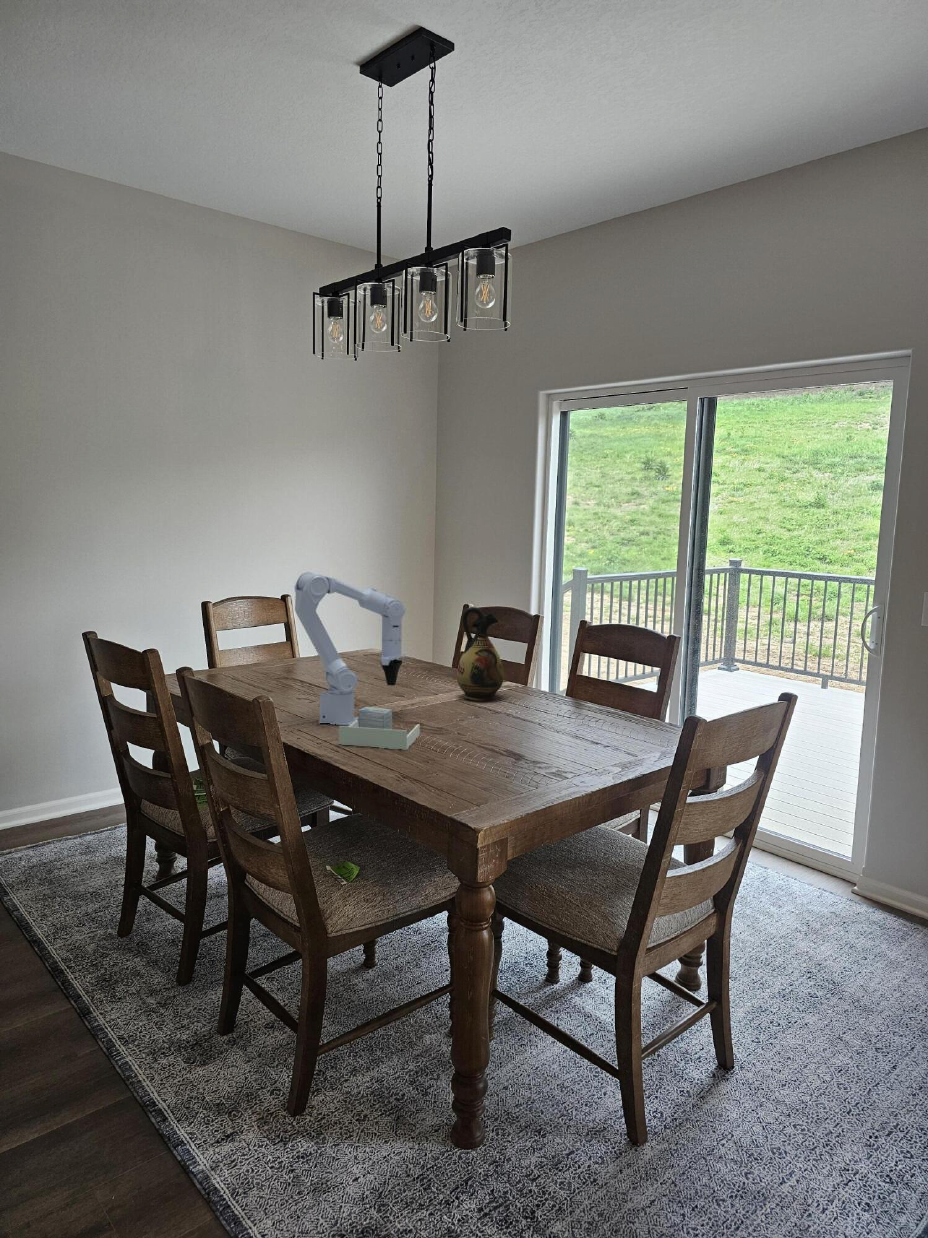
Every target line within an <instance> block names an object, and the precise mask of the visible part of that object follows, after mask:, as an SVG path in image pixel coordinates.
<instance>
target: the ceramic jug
mask: <svg viewBox="0 0 928 1238" xmlns="http://www.w3.org/2000/svg"><path fill="white" fill-rule="evenodd" d="M473 614H476V615H477V616H478V617H477V618H476V619H474V621H473V622H472V623H471V626H472V628H476V633H475V634H474V635H473V636H472V632H471V630H470V627H469V626H470V625H469V623H468V616H469V615H473ZM461 619H462V626H463V629H464V633H465V636H466V639H467V640H466V643H465V646H464V651H463V653H462V655H461V657H460V660H459V662H458V666H457V670H456V681H457V684H458V686H459V687H460V689H461V691H462V692H463V693H464V698H465V699H468V700H470V701H476V702H484V703H485V702H490V701H494V700H495V696H496V694H497V692H498V691H499V690H500V689H501V688H502V686H503V683H504V679H505V672H504V670H505V669H504V666H503V663H502V659H501V657H500V654H499V653H498V650H497V649H496V648H495V646H494V645H493V643H492V641H491V640H490V637H489V635H488V629H489V628H490V627H492V626H495V625H497V624H500V623H501V621H500V619H498V618H497V617H496V615H495V614H494V613H493V612H488V613H486V615H484V613H483V611H482V609H480V608H478V607H477V606H476V607H475V606H470V607H468V608H466V609H464V610H463V614H462V617H461Z"/></svg>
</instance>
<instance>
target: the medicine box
mask: <svg viewBox="0 0 928 1238" xmlns="http://www.w3.org/2000/svg"><path fill="white" fill-rule="evenodd" d="M358 718H359V719H358V727H364V728H379V729H393V709H391V708H382V707H375V706H365V707H361V709H359V710H358Z"/></svg>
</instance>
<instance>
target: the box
mask: <svg viewBox="0 0 928 1238" xmlns="http://www.w3.org/2000/svg"><path fill="white" fill-rule="evenodd" d="M420 725H421V724H420V723H418V724H416V725H415V726H414V727H413V728H412V729H411V730H410V732H409V733H408V730H406V729H405V730H404V729H393V728H392V729H379V728H364V727H359V719H358V720H356V721H354V722H353V723H352V724H351V725H338V745H339V744H343V745H357V746H371V747H379V748H378V749H384V748H388V749H387V750H398V749H402V750H401V751H407V750H408V749H409V748H410V747H411V745H413V743H414V742H415V741H416V740H417V739H418V737H419V736H420V735H421V734H420V733H421V731H420V730H421V729H420V728H421V726H420ZM416 738H417V739H416ZM409 746H410V747H409Z"/></svg>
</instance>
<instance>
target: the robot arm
mask: <svg viewBox="0 0 928 1238" xmlns="http://www.w3.org/2000/svg"><path fill="white" fill-rule="evenodd" d="M294 593H295V596H294V597H295V599H294V601H295V603H294V604H295V605H294V611H295V614H296V615H297V617H298V619H299V621H300V623H301V625H302V627H303V628H304V630H305V632H306V634H307V636H308V638H309V640H310V642H311V643H312V645H313V647H314V649H315V651H316V653H317V654H318V656H319V658H320V660H321V662H322V664H323V670H324V673H325V681H326V684H328V686H329V687H328V690H323V691H321V693H320V696H319V721H318V724H320V723H330V724H329V725H335V724H336V725H337V726H349V725H351V724H352V723H353V722H354V721H356V720H358V721H359V716H355V689H356V688H357V686H358V677H357V675H356V673H355V672H353V671H351V670H350V668H349V667H348V665H347V664H346V662H345V661H344V660H343V659H342V658H341V657H340V654H339V652H338V650H337V648H336V647H335V645H334V643H333V641H332V639H331V637H330V635H329V633H328V631H327V629H326V627H325V625H324V624H323V621H322V620H321V618H320V617H319V614H318V613H317V609H318V606H319V605H320V602H321V601H322V600H323V598H324V597H325V596H326V595H327V594H328V595H331V594H334V593H336V594H340V595H342V596H344V597H348V598H350V599H353V600H355V601H357V603H358V605H359V607H361V608H363V609H366V610H368V611H371V612H372V613H376V614H378V615H380V616H381V654H380V656H381V660H380V666H381V668H382V669H383V672H384V677H385V682H386V685H387V686H390V687H392V686H393V687H394V686H395V685H396V684H397V679H398V674H399V671H400V668H401V665H402V664H403V659H402V660H401V658H406V654H403V653H402V633H403V632H402V630H403V629H402V628H403V627H402V621H403V620H402V619H403V617H405V614H406V608H405V605H404V604H403V602H402V601H401V600H399V599H394V598H392V597H391V595H390V594H383V593H380V592H378V591H377V588H375V587H371V588H368V587H367V588H364V589H360V588H357V587H355V586H352V585H351V584H349V583H346V582H344V581H341V579H340V580H339V579H337V578H334V577H333V578H332V577H330V576H324V575H322V574H316V573H313V572H309V571H307V572H303V573H301V574H300V575H299V576H298V578H297V580H296V582H295V585H294Z"/></svg>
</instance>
